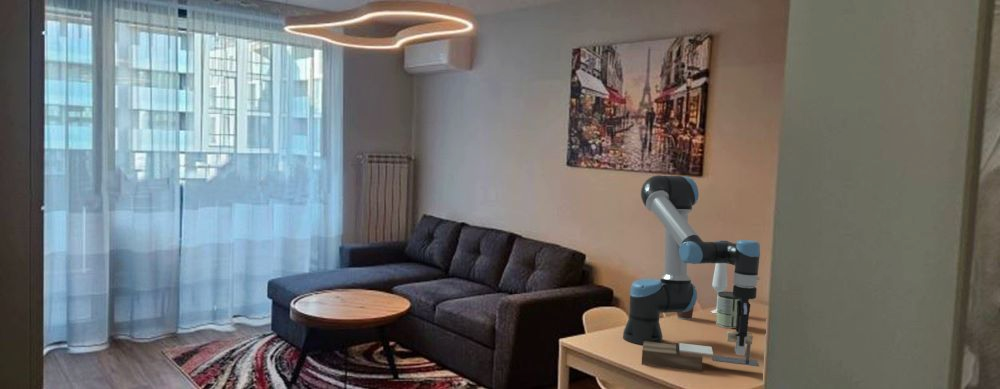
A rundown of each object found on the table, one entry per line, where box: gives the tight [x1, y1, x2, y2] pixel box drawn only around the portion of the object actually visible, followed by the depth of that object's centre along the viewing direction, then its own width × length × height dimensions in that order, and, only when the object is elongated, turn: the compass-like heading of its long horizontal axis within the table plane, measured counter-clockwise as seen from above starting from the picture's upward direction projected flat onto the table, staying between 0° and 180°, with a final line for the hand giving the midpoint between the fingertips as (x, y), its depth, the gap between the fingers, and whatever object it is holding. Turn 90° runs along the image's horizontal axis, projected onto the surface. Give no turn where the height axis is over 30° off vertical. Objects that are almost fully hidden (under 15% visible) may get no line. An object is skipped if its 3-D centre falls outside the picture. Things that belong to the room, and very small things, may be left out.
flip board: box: [641, 341, 704, 373], centre depth 236 cm, size 12×20×6 cm, turn 76°
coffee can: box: [715, 291, 739, 329], centre depth 292 cm, size 10×10×14 cm
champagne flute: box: [710, 263, 728, 314], centre depth 315 cm, size 7×7×24 cm
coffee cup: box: [676, 306, 695, 321], centre depth 302 cm, size 9×9×12 cm
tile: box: [678, 342, 714, 358], centre depth 234 cm, size 9×11×1 cm
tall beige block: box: [711, 330, 760, 368], centre depth 230 cm, size 15×6×10 cm, turn 76°
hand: (739, 353), depth 230 cm, fingers closed on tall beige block, 3 cm apart
